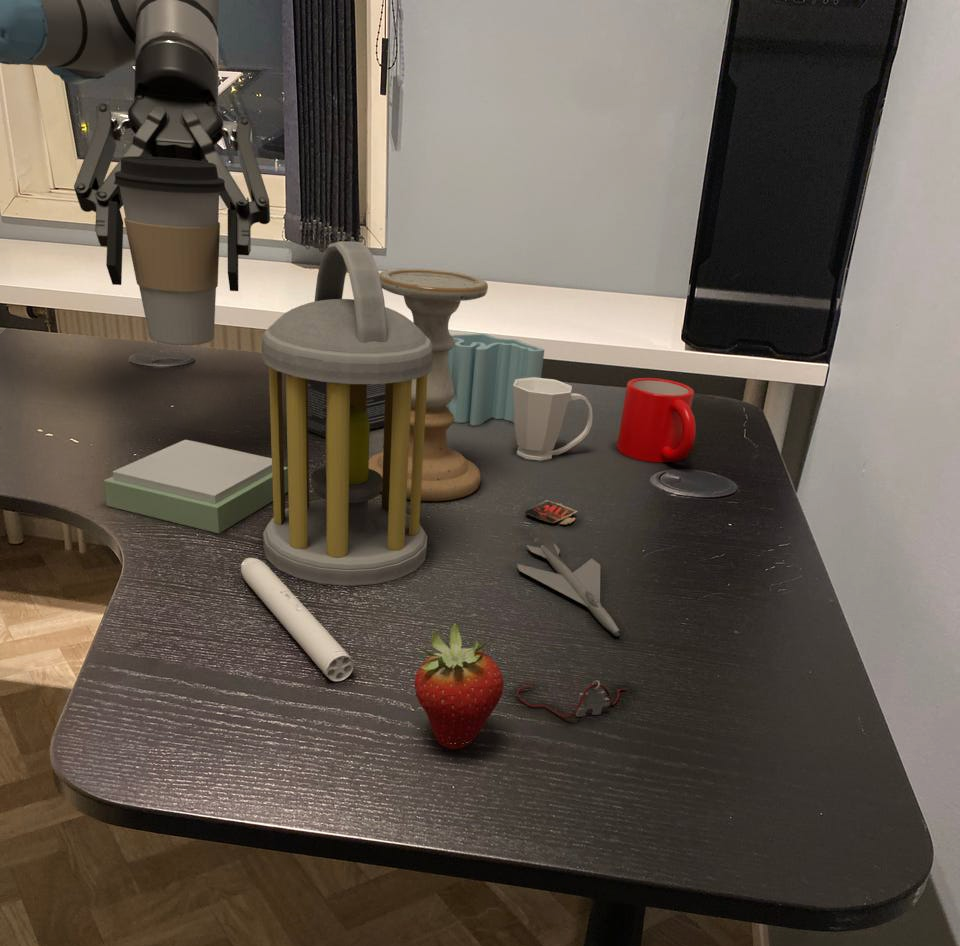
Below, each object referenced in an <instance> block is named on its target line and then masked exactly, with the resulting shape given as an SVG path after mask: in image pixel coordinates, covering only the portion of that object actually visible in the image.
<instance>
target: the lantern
mask: <svg viewBox="0 0 960 946" xmlns="http://www.w3.org/2000/svg"><path fill="white" fill-rule="evenodd" d="M347 273H348V276H349V281H350V286H351V291H352V296H353V299H352V298H343V296H344V288H345V282H346V275H347ZM379 273H380V272H379V270H378V266H377V264H376V261H375V259H374V257H373V254H372V252H371V251H370V249H369V248H368V247H367V246H366V245H365V244H364V243H363V242H359V241H344V240H343V241H336V242H332V243H329V244H328V246H327V247H326V249H325V251H324V253H323V255H322V257H321V260H320V264H319V268H318V273H317V276H316V284H315V292H314V301H311V302H307V303H304V304H301V305H299V306H296V307H294V308H291V309H289V310H288V311H286V312H284V313H283V314H281V316H280V317H279V318H277V319H276V320H275V322H273V323H272V324H271V325H270V326H269V327H268V328H267V329H265V331H264V333H263V334H262V339H261V357H262V360H263V362H264V365H266V366H268V382H269V413H270V415H269V416H270V442H271V443H270V444H271V445H270V446H271V447H270V448H271V449H270V450H271V458H272V480H273V501H272V502H273V503H272V508H273V509H272V510H273V511H272V512H273V517H272V518H271V520H270V521H269V522H268V523H267V525H266V527H265V529H264V531H263V533H262V542H263V550H264V555H265V559H267V561H269V563H270V564H272V565H273V566H274V567H275V568H276V569H277V570H279V571H281V572H283V573H285V574H287V575H290V576H292V577H294V578H296V579H300V580H304V581H308V582H312V583H317V584H320V585H331V586H344V587H345V586H346V587H352V586H366V585H368V586H369V585H377V584H382V583H385V582H389V581H394V580H399V579H401V578H403V577H405V576H407V575H409V574H411V573H414V572H416V571H417V569H419V568H420V567H421V565H422V564H424V562H425V561H426V557H427V549H428V535H427V533H426V531H425V530H424V528H423V526H422V525H421V524H420V519H421V518H420V517H421V502H422V501H421V484H422V466H423V448H424V430H425V412H426V394H427V376H428V373H429V372H431V369H432V362H433V347H432V344H431V341H430V340H429V339H428V338H427V337H426V336H425V335H424V333H423V332H422V331H421V330H420V329H419V328H418V327H417V326H416V325H415V324H414V323H413V320H411V319H409V318H408V317H407V316H405V315H404V314H402V313H401V312H398V311H397V310H394V309H392V308H389V307H387V306H386V303H385V296H384V291H383V288H382V286H381V281H380V276H379ZM283 374H285V397H286V398H285V402H286V406H285V407H286V443H287V445H286V446H287V447H286V448H287V449H286V450H287V467H288V492H287V493H288V507H286V493H285V486H284V467H285V456H284V455H285V454H284V453H285V452H284V450H285V449H284V447H285V446H284V412H283V411H284V409H283V407H284V406H283ZM416 378H417V380H416V400H415V421H414V441H413V461H412V481H411V500H410V501H409V514H408V513H407V499H406V497H407V476H408V454H409V433H410V412H411V390H412V379H416ZM308 379H311V380H316V381H322V382H327V420H326V438H325V466H323V467H320V468H318V469H316V470H315V471H312V474H311V476H310V462H309V461H310V459H309V458H310V455H309V451H310V450H309V448H310V447H309V445H310V444H309V431H308ZM385 383H386V386H385V417H384V427H383V446H382V447H383V450H382V452H383V478H382V476H381V475H380V474H379V473H378V472H376V471H374V470H372V469H369V459H370V431H371V430H370V424H369V419H368V416H367V415H366V402H367V384H385ZM310 484H311V486H312V488H313V491H314V493H315V494H316V495H317V496H318V497H320V498H321V499H318V500H313V501H310ZM381 488H382V492H380V491H381ZM380 493H381V503H380V502H375V501H371V500H374V499H375V498H377V497H378V496H379V495H380Z"/></svg>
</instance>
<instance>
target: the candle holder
mask: <svg viewBox="0 0 960 946" xmlns="http://www.w3.org/2000/svg"><path fill="white" fill-rule="evenodd" d="M379 276H380V281H381V286H382V290H384V291H386V292H388V293H390V294H394V295H397V296H402V297H403V300H404V303H405V306H406V308H407V309H408V310H409V311H410V312H411V316H412V322H413V323H414V324H415V325H416V326H417V327H418V328H419V329H420V330H421V331H422V332H423V333H424V335H425V336H426V337H427V338H428V339H429V340H430V341H431V344H432V347H433V362H432V369H431V372H429V373H428V376H427V394H426V412H425V430H424V448H423V466H422V484H421V502H444V501H451V500H457V499H460V498H465V497H467V496H470V495H471V494H473V493H474V492H475V491H476V490H477V489H478V488H479V486H480V484H481V480H482V479H481V472H480V469H479V468H478V466H477V465H476V464H475V463H474V462H472V461H471V460H469V459H467V458H465V457H464V456H463V454H461V453H460V452H458V451H457V450H455V449H452V448H450V447H448V443H447V430H449V429H450V428H451V426H452V425H453V424H454V423H455V422H454V416H453V414H452V413H451V412H450V410H449V409H448V408H447V407H446V405H447V404H448V403H450V402H451V400H452V399H453V397H454V386H453V382H452V378H451V373H450V366H449V354H448V353H449V350H451V349H452V348H453V347H454V346H455V340H454V338H453V337H452V336H451V335H452V334H451V333H450V329H449V323H450V319H451V317H452V315H454V313H455V312H457V310H458V309H459V307H460V305H461V302H464V301H465V302H466V301H472V300H473V301H474V300H477V299H481V298H483V297H485V296H486V295H487V293H488V291H489V285H488V282H487V281H486V280H484V279H483V278H480V277H477V276H474V275H472V274H467V273H461V272H455V271H450V270H449V271H448V270H441V269H431V268H430V269H428V268H394V269H386V270H384V271H381V272H379ZM416 380H417V378H416V379H412V390H411V412H410V433H409V454H408V476H407V497H406V500H410V501H411V481H412V461H413V441H414V421H415V400H416ZM369 469H372V470H374V471H376V472H378V473H379V474H380V475H381V476H382V478H383V451H381V452H379V453H376V454H374V455H372V456H370V457H369ZM380 493H382V488H381V491H380Z"/></svg>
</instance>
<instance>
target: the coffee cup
mask: <svg viewBox="0 0 960 946" xmlns="http://www.w3.org/2000/svg"><path fill="white" fill-rule="evenodd" d="M120 160H121V171H118V172H115V174H114V175H115V182H114V184H116V185H118V186H120V192H121V197H122V202H123V206H122V207H123V211H124V216H125V217H124V219H123V222H124V226H125V231H126V237H127V241H128V247H129V251H130V256H131V261H132V266H133V271H134V272H133V273H134V276H135V282H136V284H137V286H138V288H139V293H140V297H141V302H142V308H143V313H144V317H145V323H146V328H147V332H148V337H149V338H150V340H151V341H154V342H156V343H160V344H165V345H172V346H173V345H174V346H197V345H204V344H208V343H210V342H212V341H213V340H214V339H215V324H216V323H215V320H216V298H217V297H216V295H217V288H218V286H219V259H220V236H221V234H220V233H221V223H220V221H219V220H220V219H219V217H220V216H219V214H220V195H219V193H221V192H225V191H227V190H226V188H225V186H224V184H225V181H224V180H223V179H221V178H218V173H217V167H216V165H215V164H213V163H209V162H204V161H197V160H188V159H178V158H165V157H145V156H130V157H123V156H122V157H121V158H120Z"/></svg>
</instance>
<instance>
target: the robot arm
mask: <svg viewBox="0 0 960 946" xmlns="http://www.w3.org/2000/svg"><path fill="white" fill-rule="evenodd" d="M219 1H220V0H0V64H2V65H15V66H16V65H17V66H19V65H26V66H27V65H28V66H43V67H46V69H48V70H49V71H50V73H52V74H53V75H55V76H58V77H59V78H60V79H61V80H62V81H63V82H65V83H67V84H69V85H70V84H71V85H81V84H83V83H86V82H89V81H92V80H100V79H103V78H105V77H106V75H109V74H110V73H112V72H115V71H116V70H119V69H121V68H123V67H125V66H127V65H130V64H132V63H134V62H135V63H134V90H133V95H134V96H133V102H132V104H131V105H130V106H129V108H128V109H127V111H117V110H116V111H115V110H114V111H112V110H111V107H110V106H109V105H108V104H107V103H104V102H101V103H98V104H97V105H96V108H95V111H96V126H95V128H94V129H95V130H94V131H93V135H92V137H91V139H90V142H89V145H88V148H87V150H86V153H85V155H84V158H83V160H82V163H81V166H80V168H79V171H78V174H77V177H76V180H75V182H74V185H73V189H74V192H75V195H76V198H77V201H78V203H79V207H80V209H81V211H83V212H84V213H91V212H93V213H95V224H94V225H95V227H94V232H95V234H96V238H97V240H98V243H99V245H100V247H106V261H105V262H106V263H105V264H106V269H107V272H108V275H109V278H110V281H111V284H112V286H113V285H114V286H115V285H116V286H122V283H123V282H122V280H123V279H122V277H123V249H124V248H123V244H124V219H123V216H122V213H121V208H122V207H123V202H122V197H121V192H120V186H118V185H116V184H114V182H115V175H114V174H115V172H118V171H121V159H119V161H118V162H117V163H116V165H115V166H114V168H113V169H112V170H111V171H110V173H109V174H108V171H109V169H110V166H111V164H112V161H113V159H114V155H115V152H116V149H117V141H118V142H119V141H122V137H123V135H124V133H125V131H127V130H128V129H131V131H132V132H133V133H134V135H133V137H132V143H131V144H130V146H129V147H128V148H127V150H126V152H125V153H124V154H123V156H122V157H130V156H145V157H165V158H178V159H188V160H197V161H204V162H209V163H213V164H215V165H216V167H217V173H218V178H221V179H223V180H224V181H225V184H224V186H225V188H226V190H227V191H225V192H221V193H219V198H221V200H222V201H223V203H224V205H225V206H226V208H227V277H228V278H227V279H228V285H229V286H228V287H229V292H239V256H250V254H251V250H252V241H251V240H252V238H251V233H252V232H251V231H252V230H251V229H252V226H253V225H255V224H258V223H259V224H261V225H268V224H269V223H270V222H271V207H270V198H269V195H268V192H267V189H266V186H265V182H264V178H263V176H262V173H261V170H260V166H259V163H258V160H257V157H256V154H255V152H254V151H255V150H254V148H253V129H252V121H251V118H250V117H248V116H240V117H239V118H238V119H237V122H236V121H229V120H223V117H222V115H221V114H220V112H219V32H218V22H219V7H220V6H219V4H220V2H219ZM223 138H226V139H227V140H228V143H229V145H230V146H231V148H232V149H233V151H235V152H237V155H238V162H239V165H240V168H241V172H242V176H243V178H244V181H245V185H246V188H247V191H248V194H249V197H245V195H244V193H243V192H242V190H241V189H240V187H239V185H238V183H237V182H236V181H235V179H234V178H233V176H232V174H231V172H230V171H229V169H228V168H227V166H226V165H225V163H224V161H223V160H222V158H221V156H220V155H219V153H218V152H217V150H216V147H215V146H216V145H217V144H218V143H219V142H220V141H221V140H222V139H223ZM107 174H108V176H107ZM249 198H250V199H249Z"/></svg>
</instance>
